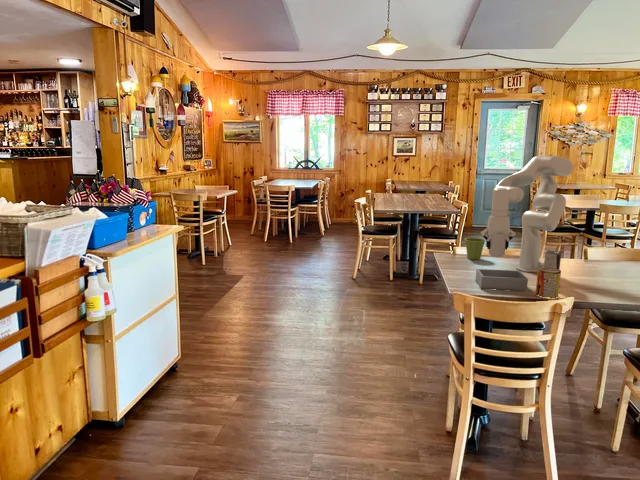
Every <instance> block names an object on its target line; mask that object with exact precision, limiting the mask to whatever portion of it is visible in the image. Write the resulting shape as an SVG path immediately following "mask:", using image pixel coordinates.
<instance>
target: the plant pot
mask: <svg viewBox="0 0 640 480" xmlns="http://www.w3.org/2000/svg"><path fill="white" fill-rule="evenodd" d="M463 240H464V241H465V247H466V257H467V259H469V260H473V261H474V260H477V261H478V260H481V257H482V253H483V250H484V245H485V244H486V239H485V238H480V237H479V238H478V237H465V238H464V239H463Z"/></svg>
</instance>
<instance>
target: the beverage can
mask: <svg viewBox="0 0 640 480" xmlns="http://www.w3.org/2000/svg"><path fill="white" fill-rule="evenodd" d="M536 275H537V277H536V286H535V287H536V288H535V294H536V295H539V296H542V297H550V298H556V297H558V298H559V290H560V284H561V275H562V270H561V269H555V268H549V267H540V268H538V272H537V274H536ZM536 295H535V296H536Z"/></svg>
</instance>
